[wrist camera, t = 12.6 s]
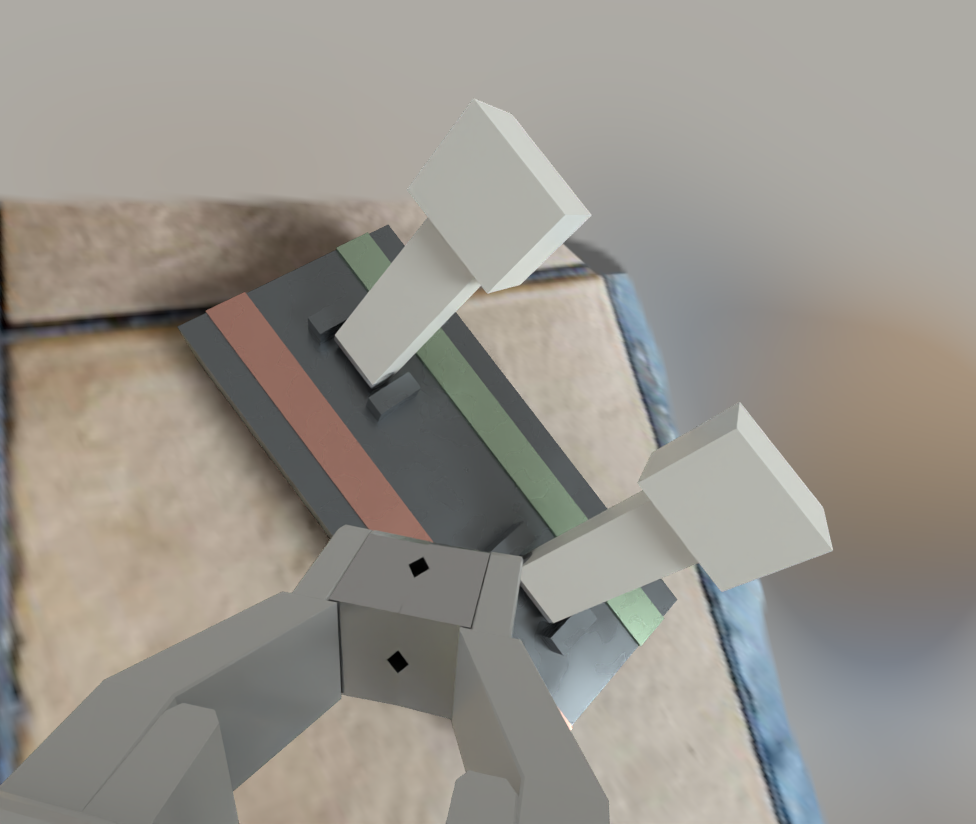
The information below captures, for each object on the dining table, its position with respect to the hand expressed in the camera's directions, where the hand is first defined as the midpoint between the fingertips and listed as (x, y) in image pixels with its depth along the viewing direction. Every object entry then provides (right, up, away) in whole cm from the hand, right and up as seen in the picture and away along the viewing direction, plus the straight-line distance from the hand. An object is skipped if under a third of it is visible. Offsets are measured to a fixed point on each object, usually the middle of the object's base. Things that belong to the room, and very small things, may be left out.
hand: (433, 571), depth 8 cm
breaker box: (-2, -2, +21) cm, 21 cm away
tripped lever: (+3, -6, +16) cm, 17 cm away
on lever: (-5, +5, +16) cm, 18 cm away
